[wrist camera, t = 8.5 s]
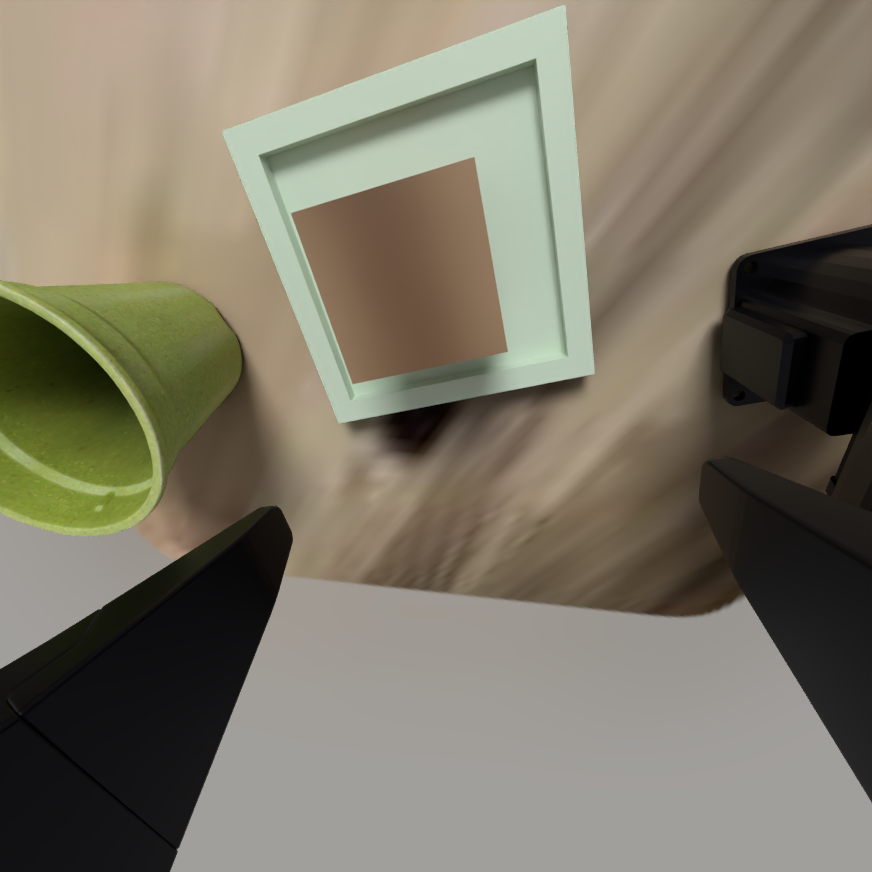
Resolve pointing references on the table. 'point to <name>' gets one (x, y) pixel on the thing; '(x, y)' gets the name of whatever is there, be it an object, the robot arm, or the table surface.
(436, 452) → the table surface
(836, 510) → the robot arm
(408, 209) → the walnut block
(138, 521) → the plant pot
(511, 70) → the green tray
